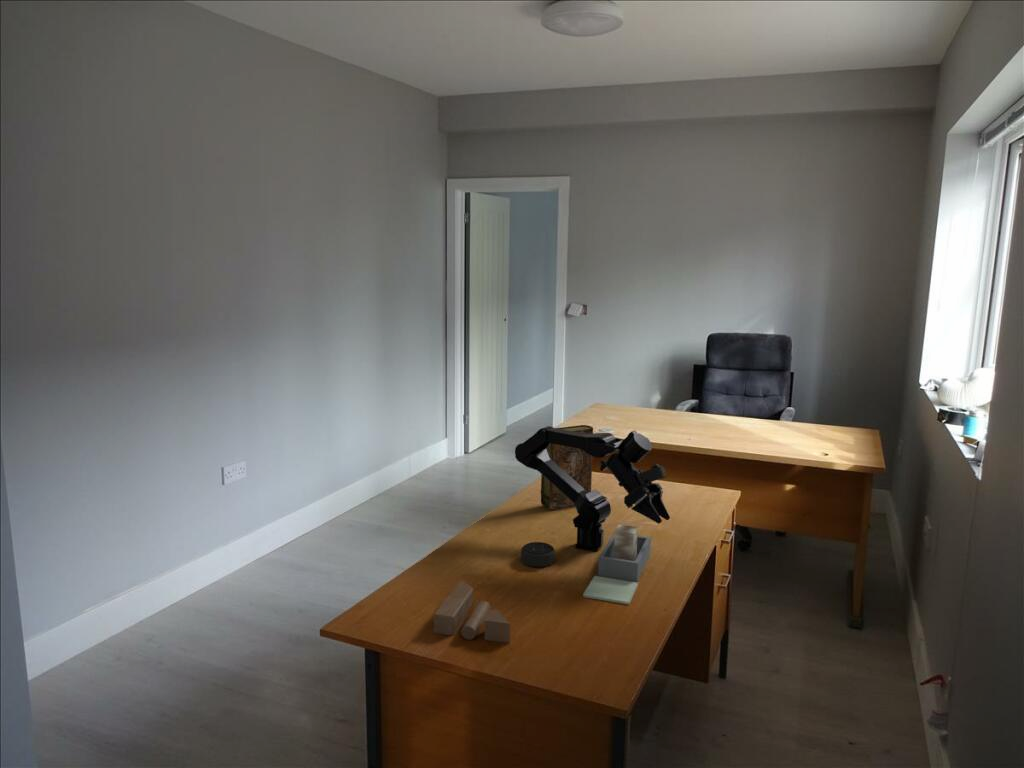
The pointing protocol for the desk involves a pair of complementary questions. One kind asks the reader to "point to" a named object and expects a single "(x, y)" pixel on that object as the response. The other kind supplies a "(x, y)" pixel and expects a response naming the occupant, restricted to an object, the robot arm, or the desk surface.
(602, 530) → the robot arm
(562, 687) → the desk surface
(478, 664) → the desk surface
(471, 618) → the wooden block set
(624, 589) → the sage mat
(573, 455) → the book
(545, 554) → the smart speaker
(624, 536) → the ash block
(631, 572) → the slotted box
